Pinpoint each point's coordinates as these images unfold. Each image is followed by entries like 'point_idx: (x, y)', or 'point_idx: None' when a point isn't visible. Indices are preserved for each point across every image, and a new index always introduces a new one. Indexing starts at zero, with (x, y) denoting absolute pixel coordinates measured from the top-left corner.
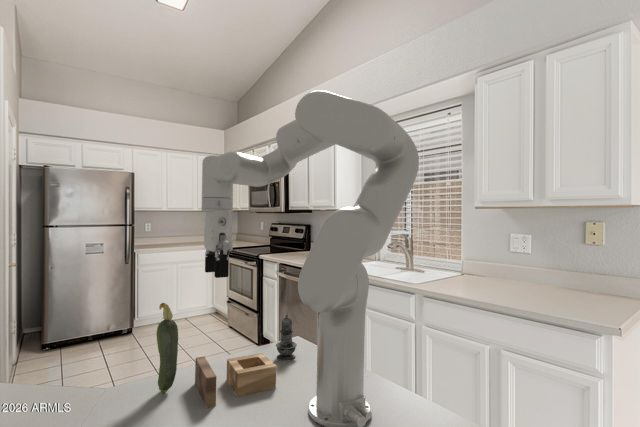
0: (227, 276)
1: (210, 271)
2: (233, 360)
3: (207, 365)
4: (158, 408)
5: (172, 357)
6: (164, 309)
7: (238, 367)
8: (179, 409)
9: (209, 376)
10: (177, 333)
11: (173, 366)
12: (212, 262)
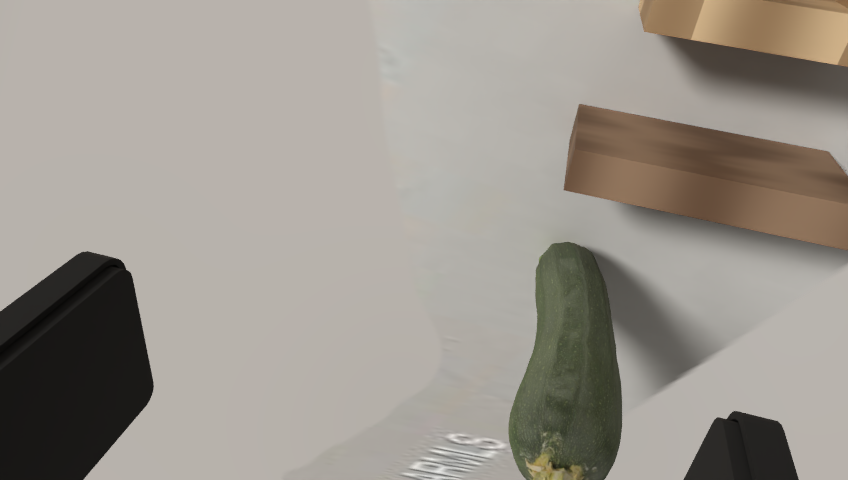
0: (773, 428)
1: (143, 353)
2: (693, 8)
3: (707, 187)
4: (669, 300)
5: (613, 336)
6: None
7: (813, 30)
8: (734, 258)
9: (843, 233)
10: (598, 389)
11: (607, 302)
12: (32, 438)
